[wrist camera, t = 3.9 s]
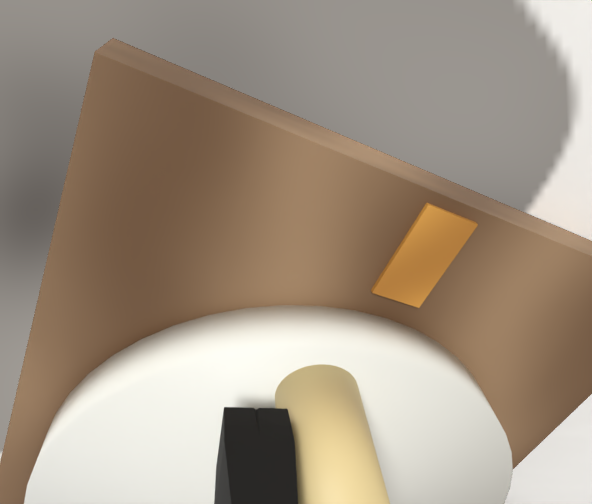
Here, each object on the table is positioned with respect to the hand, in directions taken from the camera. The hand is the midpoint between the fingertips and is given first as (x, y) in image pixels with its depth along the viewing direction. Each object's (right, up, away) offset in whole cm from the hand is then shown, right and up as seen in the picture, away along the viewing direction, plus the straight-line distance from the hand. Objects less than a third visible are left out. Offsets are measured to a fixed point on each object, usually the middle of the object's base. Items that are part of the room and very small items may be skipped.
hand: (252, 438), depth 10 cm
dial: (0, -3, +5) cm, 6 cm away
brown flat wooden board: (0, -2, +7) cm, 7 cm away
